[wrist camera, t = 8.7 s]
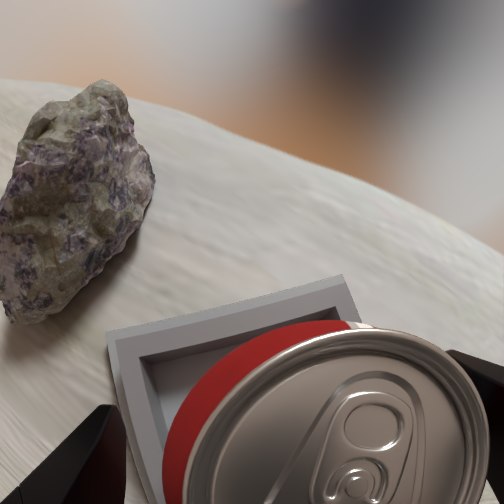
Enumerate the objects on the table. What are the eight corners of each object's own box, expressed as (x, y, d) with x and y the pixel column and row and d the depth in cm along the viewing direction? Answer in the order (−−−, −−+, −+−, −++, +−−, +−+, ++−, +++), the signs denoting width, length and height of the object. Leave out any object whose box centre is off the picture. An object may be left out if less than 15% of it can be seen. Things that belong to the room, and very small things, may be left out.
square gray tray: (406, 482, 14) (438, 491, 10) (177, 556, 11) (167, 583, 8) (337, 280, 19) (356, 255, 16) (111, 336, 17) (88, 319, 14)
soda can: (183, 472, 13) (101, 591, 2) (223, 354, 16) (219, 240, 5) (311, 502, 12) (445, 610, 2) (345, 387, 16) (523, 332, 5)
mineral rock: (32, 343, 16) (-79, 281, 7) (2, 223, 20) (-63, 139, 11) (199, 244, 20) (183, 118, 11) (135, 147, 24) (110, 38, 15)
